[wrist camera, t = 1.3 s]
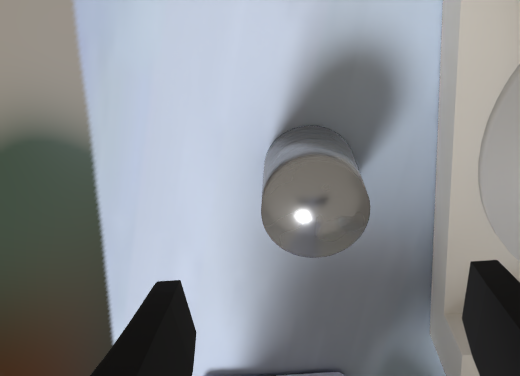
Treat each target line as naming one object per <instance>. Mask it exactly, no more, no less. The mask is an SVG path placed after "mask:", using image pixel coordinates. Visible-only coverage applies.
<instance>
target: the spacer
mask: <svg viewBox="0 0 520 376" xmlns="http://www.w3.org/2000/svg"><path fill="white" fill-rule="evenodd" d="M261 215H262V221H263V225H264V227H265V230H266V232H267V233H268V235H269V236H270V238H271V239H272V240H273V241H274V242H275V243H276V244H277V245H278V246H280V247H281V248H282V249H284V250H286V251H288V252H290V253H292V254H295V255H298V256H303V257H311V258H316V257H326V256H330V255H333V254H336V253H339V252H341V251H343V250H345V249H346V248H348V247H349V246H351V245H352V244H353V243H354V242H355V241H356V240H357V239H358V238H359V237H360V236H361V234H362V233H363V232H364V230H365V228H366V226H367V223H368V220H369V216H370V201H369V197H368V194H367V191H366V188H365V186H364V183H363V180H362V177H361V175H360V172H359V169H358V166H357V164H356V161H355V158H354V156H353V153H352V151H351V148H350V147H349V145H348V143H347V142H346V141H345V140H344V139H343V138H342V137H341V136H340V135H338V134H337V133H336V132H334V131H332V130H330V129H327V128H324V127H320V126H301V127H297V128H294V129H291V130H289V131H287V132H285V133H284V134H282V135H281V136H280V137H278V138H277V139H276V140H275V141H274V143H273V144H272V145H271V147H270V148H269V150H268V152H267V154H266V157H265V161H264V173H263V190H262V206H261Z"/></svg>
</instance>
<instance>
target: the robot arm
mask: <svg viewBox="0 0 520 376" xmlns="http://www.w3.org/2000/svg"><path fill="white" fill-rule="evenodd" d="M462 321H463V325H464V329H465V332H466V336H467V340H468V343H469V347H470V350H471V354H472V357H473V360H474V362H475V365H476V367H477V370H478V372H479V375H480V376H520V282H519V281H518V280H517V279H516V278H515V277H514V276H513V275H512V274H511V273H510V272H509V271H508V270H507V269H506V268H505V267H504V266H503V265H502V264H501V263H500V262H499V261H498V260H486V261H471V263H470V269H469V275H468V282H467V288H466V294H465V301H464V307H463V313H462ZM195 341H196V330H195V327H194V323H193V320H192V317H191V314H190V310H189V307H188V304H187V301H186V297H185V294H184V291H183V287H182V284H181V281H180V280H175V281H160V282H157V283H156V284H155V285H154V286H153V288H152V289H151V291H150V292H149V294H148V295H147V297H146V298H145V300H144V301H143V303H142V305H141V306H140V308H139V309H138V311H137V312H136V314H135V315H134V316H133V318H132V319H131V321H130V322H129V324H128V325H127V327H126V328H125V330H124V331H123V332H122V334H121V335H120V337H119V338H118V339H117V341H116V342H115V344H114V345H113V346H112V348H111V349H110V351H109V352H108V353H107V355H106V356H105V357H104V359H103V360H102V361H101V362H100V364H99V365H98V366H97V367H96V369H95V370H94V371H93V373H92V374H91V375H90V376H192V372H193V363H194V353H195ZM278 376H344V375H343V374H342V373H340V372H326V373H310V374H294V375H278Z"/></svg>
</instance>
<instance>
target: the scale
mask: <svg viewBox="0 0 520 376" xmlns="http://www.w3.org/2000/svg"><path fill="white" fill-rule="evenodd" d="M486 260H498V261H499V262H500V263H501V264H502V265H503V266H504V267H505V268H506V269H507V270H508V271H509V272H510V273H511V274H512V275H513V276H514V277H515V278H516V279H517V280H518V281H519V282H520V0H443V8H442V34H441V59H440V85H439V110H438V135H437V161H436V186H435V212H434V237H433V262H432V288H431V313H430V336H431V339H432V341H433V344H434V346H435V349H436V351H437V354H438V356H439V359H440V361H441V364H442V366H443V369H444V371H445V374H446V376H480V375H479V372H478V370H477V367H476V365H475V362H474V360H473V357H472V354H471V350H470V347H469V343H468V340H467V336H466V332H465V329H464V325H463V321H462V313H463V307H464V301H465V294H466V288H467V282H468V275H469V269H470V263H471V261H486Z"/></svg>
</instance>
